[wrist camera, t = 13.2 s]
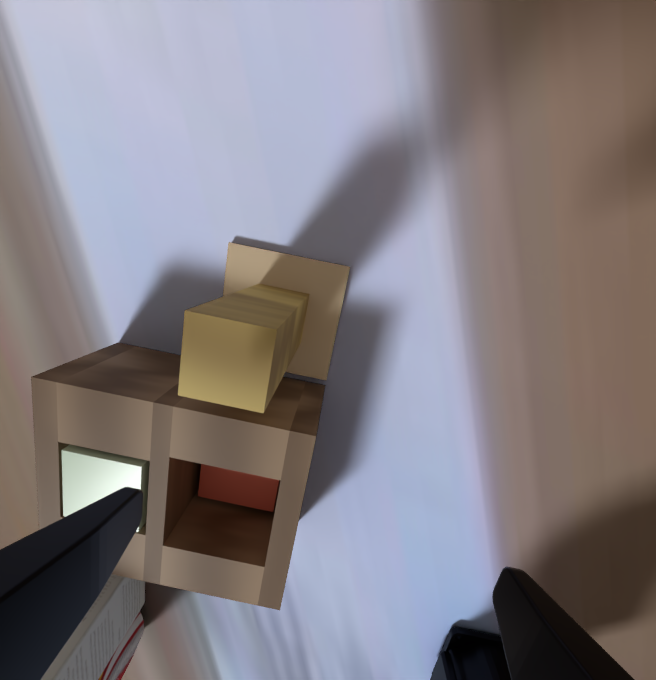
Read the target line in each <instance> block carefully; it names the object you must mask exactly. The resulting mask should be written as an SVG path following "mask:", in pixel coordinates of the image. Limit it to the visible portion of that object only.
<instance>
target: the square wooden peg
mask: <svg viewBox="0 0 656 680" xmlns="http://www.w3.org/2000/svg"><path fill="white" fill-rule="evenodd" d="M309 295H310V294H307V293H302V292H297V291H293V290H288V289H283V288H278V287H273V286H269V285H264V284H256V285H254V286H251V287H248V288H245V289H243V290H240V291H237V292H234V293H231V294H229V295H226V296H223V297H220V298H218V299H215V300H212V301H209V302H207V303H204V304H201V305H198V306H195V307H193V308H190V309H187V310H185V313H184V325H183V337H182V350H181V362H180V374H179V386H178V396H183V397H188V398H193V399H197V400H202V401H207V402H212V403H216V404H221V405H226V406H231V407H235V408H240V409H245V410H250V411H254V412H259V413H264V412H265V410H266V408H267V406H268V404H269V402H270V400H271V398H272V396H273V395H274V393H275V391H276V389H277V387H278V385H279V383H280V381H281V379H282V377H283V376H284V374H285V372H286V370H287V368H288V366H289V364H290V362H291V360H292V358H293V357H294V355H295V353H296V351H297V349H298V347H299V345H300V343H301V339H302V333H303V328H304V322H305V317H306V311H307V306H308V301H309Z"/></svg>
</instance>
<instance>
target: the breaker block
mask: <svg viewBox="0 0 656 680" xmlns="http://www.w3.org/2000/svg"><path fill="white" fill-rule="evenodd" d="M180 362H181V355H176V354H171V353H167V352H162V351H157V350H152V349H147V348H142V347H138V346H133V345H128V344H123V343H116V344H113V345H111V346H108V347H106V348H103V349H101V350H98V351H96V352H93V353H91V354H88V355H85V356H83V357H80V358H78V359H75V360H73V361H70V362H68V363H65V364H63V365H60V366H58V367H55V368H53V369H50V370H48V371H45V372H43V373H40V374H38V375H35V376H32V377H31V383H32V403H33V422H34V441H35V460H36V480H37V499H38V518H39V530H40V529H42V528H44V527H46V526H48V525H50V524H52V523H54V522H56V521H58V520H60V519H62V518H64V517H65V516H63V486H62V450H63V449H64V448H65V447H67V446H68V445H70V444H71V445H76V446H80V447H85V448H90V449H95V450H100V451H104V452H109V453H114V454H119V455H123V456H128V457H133V458H138V459H143V460H147V461H150V467H149V485H148V502H147V520H146V523H145V524H144V525H143V527H142V528H141V529H140V531H139V532H135V534H134V536H133V537H132V539H131V541H130V543H129V544H128V546H127V548H126V550H125V551H124V553H123V555H122V557H121V558H120V560H119V562H118V564H117V565H116V567H115V569H114V570H113V572H112V575H117V576H122V577H127V578H131V579H136V580H141V581H145V582H150V583H155V584H159V585H164V586H169V587H174V588H178V589H183V590H188V591H192V592H197V593H202V594H207V595H211V596H216V597H221V598H225V599H230V600H235V601H239V602H244V603H249V604H254V605H258V606H263V607H268V608H272V609H277V610H280V607H281V602H282V597H283V592H284V588H285V583H286V578H287V573H288V569H289V564H290V559H291V554H292V550H293V545H294V540H295V535H296V531H297V526H298V521H299V516H300V512H301V507H302V502H303V497H304V493H305V488H306V483H307V478H308V474H309V469H310V464H311V459H312V454H313V450H314V445H315V440H316V435H317V430H318V424H319V418H320V413H321V407H322V401H323V396H324V390H325V385H322V384H317V383H312V382H307V381H302V380H297V379H292V378H288V377H282V379H281V381H280V383H279V385H278V387H277V389H276V391H275V393H274V395H273V396H272V398H271V400H270V402H269V404H268V406H267V408H266V410H265V412H264V413H259V412H254V411H250V410H245V409H240V408H235V407H231V406H226V405H221V404H216V403H212V402H207V401H202V400H197V399H193V398H188V397H183V396H178V386H179V374H180ZM201 464H204V465H209V466H214V467H219V468H224V469H228V470H233V471H238V472H243V473H247V474H252V475H257V476H262V477H267V478H271V479H276V480H281V481H280V486H279V492H278V497H277V500H276V504H275V507H274V511H273V512H270V511H266V510H261V509H256V508H251V507H246V506H242V505H237V504H232V503H227V502H223V501H218V500H213V499H208V498H204V497H199V496H198V489H199V480H200V471H201Z"/></svg>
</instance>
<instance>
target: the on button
mask: <svg viewBox="0 0 656 680" xmlns="http://www.w3.org/2000/svg"><path fill="white" fill-rule="evenodd" d="M149 467H150V461H147V460H143V459H138V458H133V457H128V456H123V455H119V454H114V453H109V452H104V451H100V450H95V449H90V448H85V447H80V446H76V445H71V444H70V445H68V446H67V447H65V448H64V449H63V450H62V486H63V516H65V517H66V516H68V515H70V514H72V513H74V512H76V511H78V510H80V509H82V508H84V507H86V506H88V505H90V504H92V503H94V502H96V501H98V500H100V499H102V498H104V497H106V496H107V495H109V494H111V493H113V492H115V491H117V490H119V489H121V488H124V487H131V488H136V489H140V490H142V491H143V510H142V519H141V522H140V525H139V527H138V529H137V531H136V532H139V531H140V529H141V528H142V527H143V525H144V524H145V523H146V520H147V502H148V485H149Z"/></svg>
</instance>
